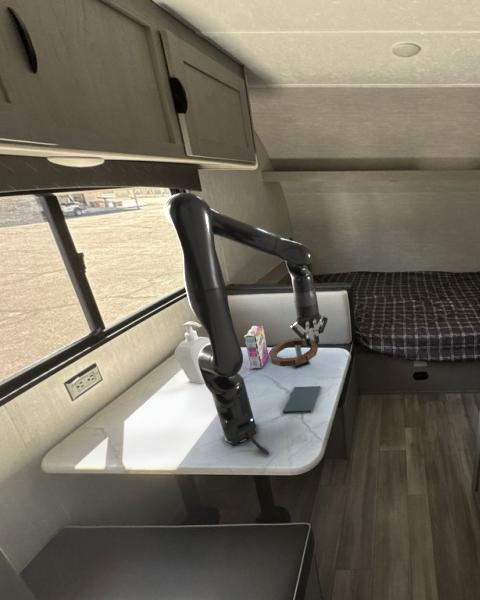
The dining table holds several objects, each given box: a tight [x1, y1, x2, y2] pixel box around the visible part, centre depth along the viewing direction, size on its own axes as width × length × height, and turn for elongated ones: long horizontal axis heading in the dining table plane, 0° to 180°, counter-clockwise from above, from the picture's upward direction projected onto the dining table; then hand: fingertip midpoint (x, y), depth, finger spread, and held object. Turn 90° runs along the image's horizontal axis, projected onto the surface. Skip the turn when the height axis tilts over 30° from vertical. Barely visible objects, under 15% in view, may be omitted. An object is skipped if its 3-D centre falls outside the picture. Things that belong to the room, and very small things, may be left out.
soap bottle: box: [173, 320, 210, 384], centre depth 129 cm, size 12×10×26 cm
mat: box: [282, 385, 321, 414], centre depth 117 cm, size 14×10×1 cm
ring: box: [268, 337, 319, 368], centre depth 110 cm, size 16×16×2 cm
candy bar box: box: [243, 324, 269, 370], centre depth 140 cm, size 11×5×16 cm, turn 6°
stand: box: [293, 345, 310, 369], centre depth 139 cm, size 6×6×11 cm
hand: (313, 345), depth 113 cm, fingers closed on ring, 2 cm apart
